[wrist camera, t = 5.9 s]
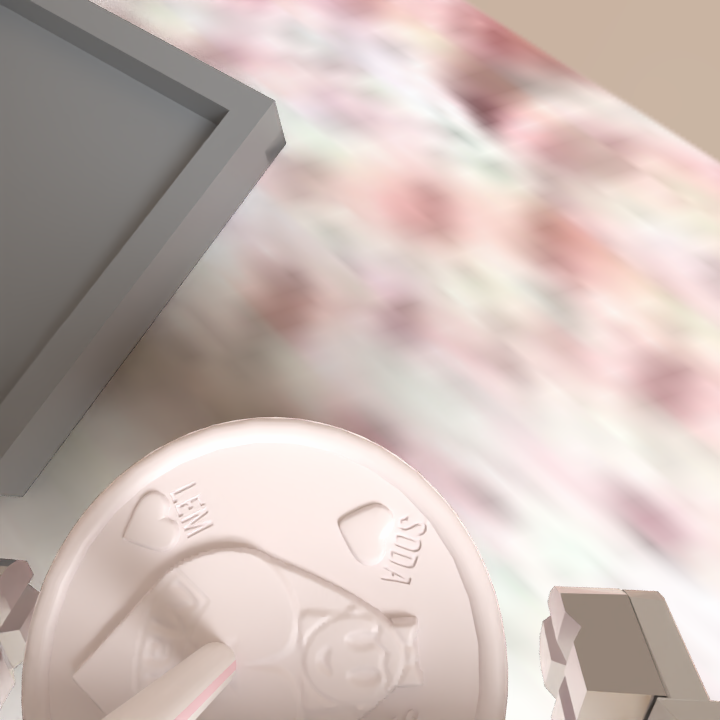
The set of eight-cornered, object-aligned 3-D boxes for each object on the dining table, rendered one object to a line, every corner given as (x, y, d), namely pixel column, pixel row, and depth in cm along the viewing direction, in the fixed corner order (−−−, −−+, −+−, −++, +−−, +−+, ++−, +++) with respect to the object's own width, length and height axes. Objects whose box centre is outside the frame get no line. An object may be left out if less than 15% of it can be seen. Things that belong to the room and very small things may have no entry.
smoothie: (215, 473, 18) (-314, 344, 4) (431, 457, 18) (582, 273, 4) (218, 713, 16) (-622, 1716, 3) (455, 698, 16) (828, 1675, 3)
